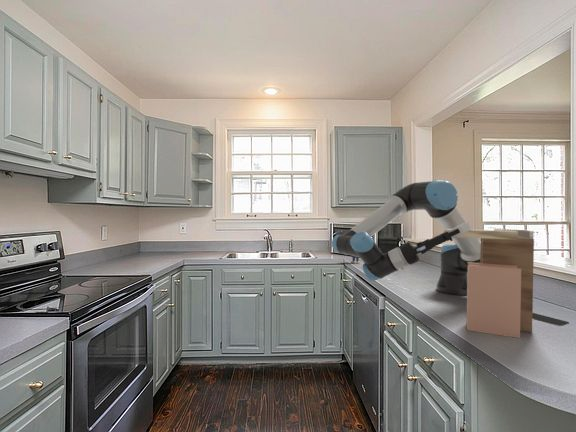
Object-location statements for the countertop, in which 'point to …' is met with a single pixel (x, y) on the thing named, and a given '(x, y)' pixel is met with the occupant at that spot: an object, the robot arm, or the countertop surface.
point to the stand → (516, 255)
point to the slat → (488, 234)
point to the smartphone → (548, 319)
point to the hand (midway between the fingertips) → (468, 225)
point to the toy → (356, 259)
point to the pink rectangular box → (494, 299)
